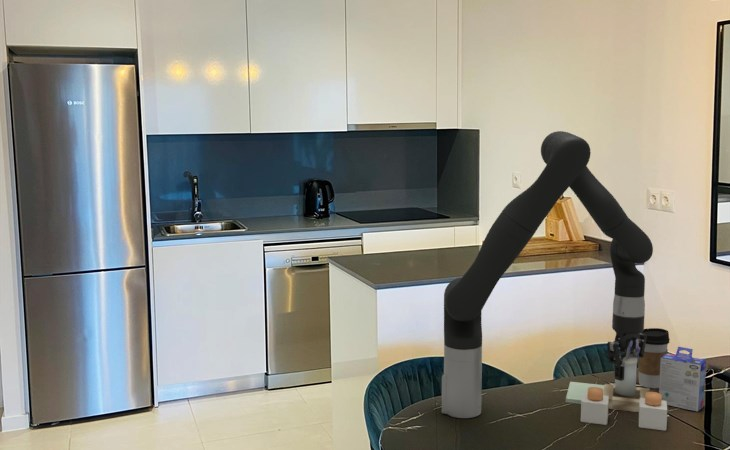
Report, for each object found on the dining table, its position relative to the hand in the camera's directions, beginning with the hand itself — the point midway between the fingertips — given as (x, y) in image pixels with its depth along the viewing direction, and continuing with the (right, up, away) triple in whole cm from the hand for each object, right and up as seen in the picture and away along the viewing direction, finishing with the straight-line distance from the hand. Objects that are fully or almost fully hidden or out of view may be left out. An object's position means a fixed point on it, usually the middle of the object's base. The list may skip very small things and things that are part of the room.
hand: (625, 377), depth 187 cm
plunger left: (-11, -7, -10) cm, 16 cm away
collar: (0, -7, 0) cm, 7 cm away
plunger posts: (-5, -8, -11) cm, 15 cm away
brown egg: (+2, -7, -13) cm, 15 cm away
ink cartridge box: (+13, -7, -1) cm, 15 cm away
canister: (0, -4, +1) cm, 4 cm away
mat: (-9, -6, +6) cm, 12 cm away
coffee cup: (+11, -5, +13) cm, 18 cm away
